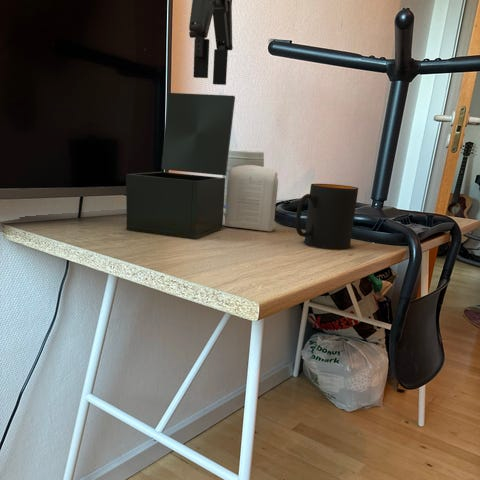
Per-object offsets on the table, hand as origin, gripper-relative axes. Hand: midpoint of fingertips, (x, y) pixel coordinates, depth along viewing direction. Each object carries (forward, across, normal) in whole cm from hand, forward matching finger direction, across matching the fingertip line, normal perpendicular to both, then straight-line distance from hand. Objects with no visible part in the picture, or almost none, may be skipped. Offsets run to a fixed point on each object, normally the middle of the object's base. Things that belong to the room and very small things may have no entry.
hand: (210, 81), depth 98 cm
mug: (+28, -13, -28) cm, 42 cm away
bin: (+28, -16, -1) cm, 32 cm away
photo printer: (+28, -5, -12) cm, 31 cm away
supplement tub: (+28, +13, -4) cm, 31 cm away
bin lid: (+10, -8, -1) cm, 13 cm away
